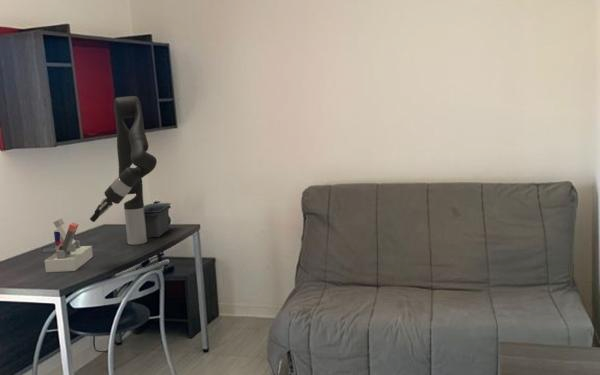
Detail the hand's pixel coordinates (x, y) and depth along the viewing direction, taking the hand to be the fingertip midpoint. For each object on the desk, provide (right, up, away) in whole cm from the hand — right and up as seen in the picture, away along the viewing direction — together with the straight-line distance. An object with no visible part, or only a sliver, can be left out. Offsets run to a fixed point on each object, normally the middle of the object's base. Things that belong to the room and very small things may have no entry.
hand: (92, 220), depth 251 cm
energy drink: (-21, -18, +23) cm, 36 cm away
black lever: (-13, -14, +2) cm, 19 cm away
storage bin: (+12, -11, +59) cm, 61 cm away
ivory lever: (-13, -12, +13) cm, 22 cm away
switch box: (-12, -19, +9) cm, 24 cm away
